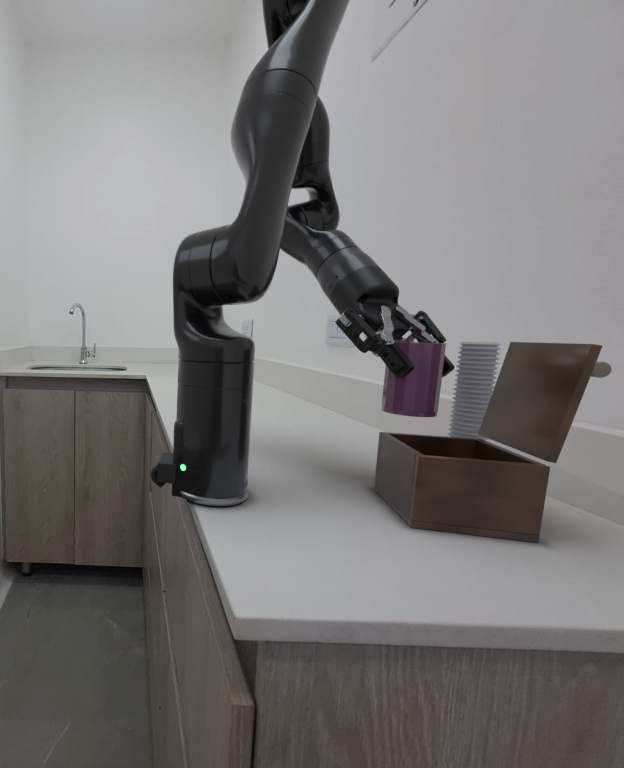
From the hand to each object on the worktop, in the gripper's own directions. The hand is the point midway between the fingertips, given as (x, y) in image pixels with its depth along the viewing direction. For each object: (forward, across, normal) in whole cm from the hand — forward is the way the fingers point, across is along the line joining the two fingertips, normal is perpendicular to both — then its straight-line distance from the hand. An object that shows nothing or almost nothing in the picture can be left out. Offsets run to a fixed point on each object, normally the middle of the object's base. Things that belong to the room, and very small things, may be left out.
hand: (426, 373), depth 49 cm
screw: (+10, +11, +13) cm, 20 cm away
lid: (+6, +5, -4) cm, 9 cm away
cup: (+3, 0, +5) cm, 6 cm away
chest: (+14, 0, +8) cm, 17 cm away
